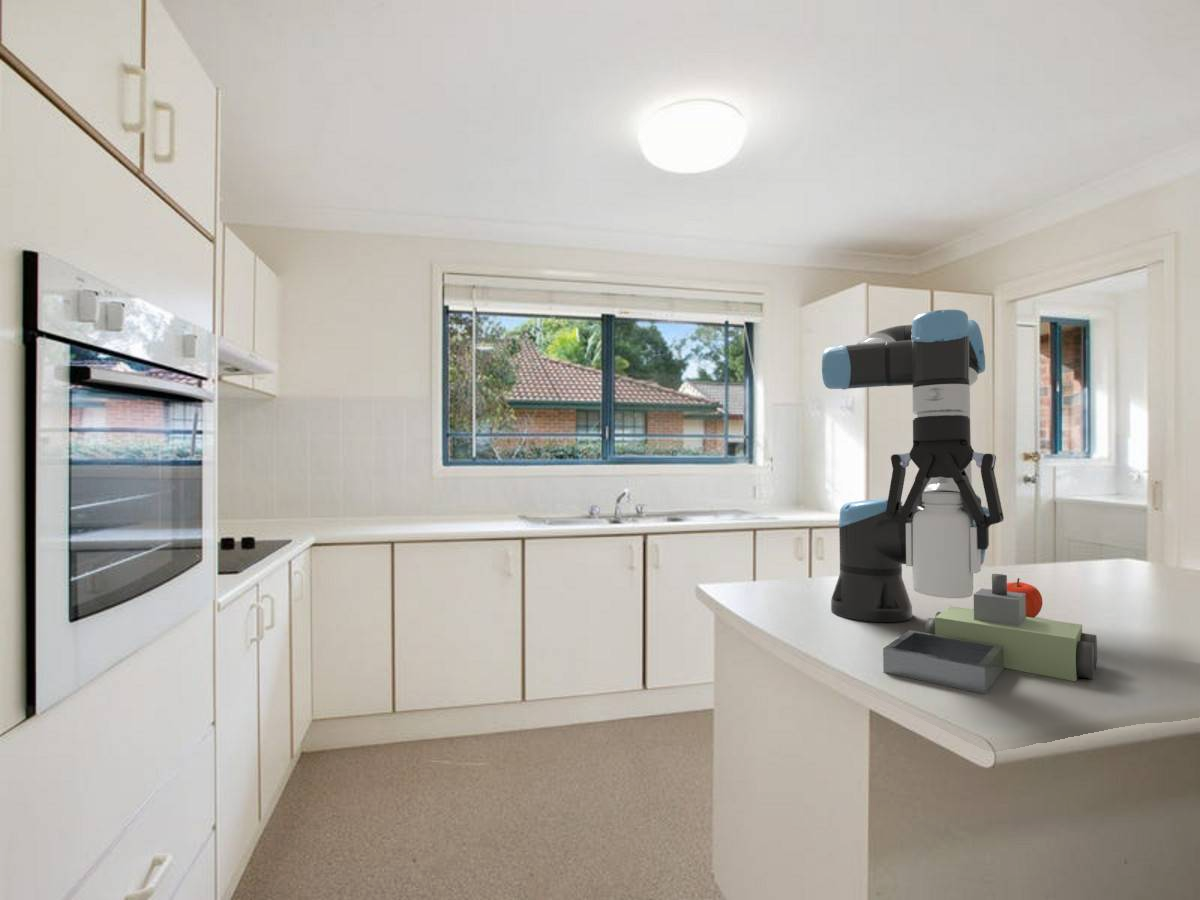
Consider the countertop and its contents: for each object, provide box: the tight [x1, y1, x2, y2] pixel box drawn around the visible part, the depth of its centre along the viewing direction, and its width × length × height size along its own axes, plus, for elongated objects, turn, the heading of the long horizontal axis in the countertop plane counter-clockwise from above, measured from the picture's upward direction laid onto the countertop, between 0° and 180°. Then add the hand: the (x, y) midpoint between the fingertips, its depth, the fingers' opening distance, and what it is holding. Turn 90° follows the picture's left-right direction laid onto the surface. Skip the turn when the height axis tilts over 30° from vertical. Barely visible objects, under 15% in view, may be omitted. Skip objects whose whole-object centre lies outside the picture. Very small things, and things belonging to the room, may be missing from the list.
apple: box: [1007, 577, 1044, 618], centre depth 122 cm, size 8×8×8 cm
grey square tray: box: [882, 629, 1005, 695], centre depth 92 cm, size 13×13×4 cm
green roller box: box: [924, 573, 1098, 682], centre depth 98 cm, size 21×11×13 cm, turn 48°
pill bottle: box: [911, 492, 974, 599], centre depth 92 cm, size 8×8×15 cm
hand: (942, 568), depth 92 cm, fingers closed on pill bottle, 8 cm apart
